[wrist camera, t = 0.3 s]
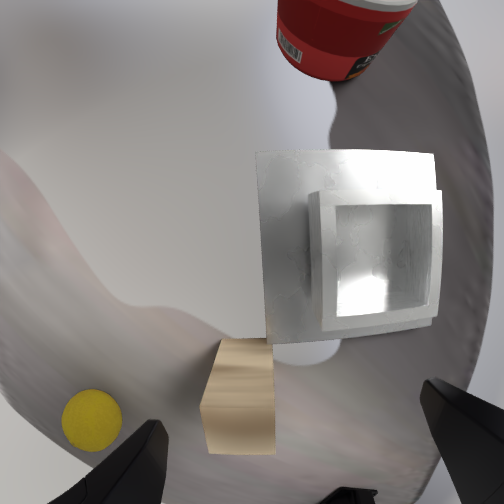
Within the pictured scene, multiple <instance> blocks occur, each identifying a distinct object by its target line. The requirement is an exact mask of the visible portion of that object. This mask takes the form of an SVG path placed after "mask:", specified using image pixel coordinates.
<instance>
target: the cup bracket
mask: <svg viewBox="0 0 504 504" xmlns="http://www.w3.org/2000/svg"><path fill="white" fill-rule="evenodd" d="M256 167H257V183H258V197H259V213H260V230H261V246H262V263H263V281H264V298H265V317H266V335H267V345H268V344H285V343H300V342H313V341H324V340H334V339H343V338H352V337H360V336H368V335H375V334H382V333H389V332H395V331H402V330H408V329H414V328H419V327H425V326H430V325H431V322H432V317H434V316H437V313H438V304H439V295H440V284H441V270H442V246H443V216H442V192H441V191H437V190H436V178H435V167H434V158H433V154H425V153H413V152H398V151H379V150H336V149H328V150H285V151H265V152H256Z"/></svg>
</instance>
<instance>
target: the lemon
mask: <svg viewBox="0 0 504 504" xmlns="http://www.w3.org/2000/svg"><path fill="white" fill-rule="evenodd" d="M121 426H122V413H121V410H120V407H119V406H118V404H117V402H116V401H115V400H114V399H113V398H112V397H111V396H110V395H108V394H107V393H105V392H103V391H100V390H96V389H88V390H84V391H81V392H79V393H77V394H76V395H75V396H74V397H72V398H71V399H70V400H69V402H68V403H67V405H66V407H65V409H64V411H63V414H62V428H63V431H64V434H65V435H66V437H67V439H68V440H69V441H70V443H71V444H72V445H73V446H74V447H77V448H79V449H81V450H84V451H89V452H96V451H100V450H103V449H105V448H106V447H107V446H109V445H110V444H111V443H112V442H113V441H114V440H115V439H116V438H117V436H118V434H119V432H120V429H121Z"/></svg>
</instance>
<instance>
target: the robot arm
mask: <svg viewBox="0 0 504 504" xmlns="http://www.w3.org/2000/svg"><path fill="white" fill-rule="evenodd" d="M420 403H421V406H422V409H423V411H424V414H425V417H426V420H427V423H428V426H429V429H430V432H431V434H432V437H433V439H434V441H435V443H436V445H437V448H438V450H439V452H440V454H441V456H442V458H443V461H444V463H445V465H446V467H447V470H448V472H449V474H450V476H451V479H452V481H453V484H454V486H455V488H456V491H457V493H458V496H459V498H460V501H461V503H462V504H504V410H503V409H501V408H499V407H497V406H495V405H493V404H491V403H488V402H486V401H484V400H482V399H480V398H478V397H476V396H473V395H472V394H469V393H467V392H465V391H463V390H461V389H459V388H457V387H455V386H453V385H451V384H449V383H447V382H445V381H443V380H441V379H439V378H436V377H432V378H429V379H427V380H425V381H424V383H423V387H422V390H421V394H420ZM168 442H169V437H168V434H167V432H166V430H165V428H164V426H163V424H162V422H161V421H160V420H156V419H149V420H147V421H146V422H145V423H144V424H143V425H142V426H140V427H139V428H138V429H137V430H136V431H135V432H134V433H133V434H132V435H131V436H130V437H129V438H128V439H126V440H125V441H124V442H123V443H122V444H121V445H120V446H119V447H118V448H117V449H115V450H114V451H113V452H112V453H111V454H110V455H109V456H108V457H107V458H105V459H104V460H103V461H102V462H101V463H100V464H99V465H97V466H96V467H95V468H94V469H93V470H92V471H91V472H89V473H88V474H87V475H86V476H85V478H82V479H81V480H80V481H79V482H78V483H76V484H75V485H74V486H73V487H71V488H70V489H69V490H67V491H66V492H65V493H63V494H62V495H60V496H59V497H57V498H56V499H54V500H52V501H51V502H49V503H47V504H161V499H162V494H163V489H164V484H165V478H166V470H167V455H168ZM377 494H378V491H377V490H368V489H357V488H348V487H342V488H339V489H338V490H337V491H336V492H334V493H333V494H332V495H331V496H329V497H328V498H327V499H326V500H324V501H323V502H322V503H320V504H375V501H374V498H373V497H374V496H375V495H377Z"/></svg>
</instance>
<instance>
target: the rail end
mask: <svg viewBox="0 0 504 504" xmlns="http://www.w3.org/2000/svg"><path fill="white" fill-rule="evenodd" d="M272 351H273V350H272V344H268V345H267V338H248V339H222V340H221V343H220V346H219V349H218V352H217V355H216V358H215V361H214V364H213V367H212V370H211V373H210V376H209V379H208V382H207V385H206V388H205V391H204V394H203V397H202V400H201V403H200V406H199V408H200V413H201V418H202V423H203V428H204V433H205V437H206V442H207V446H208V451H209V454H228V455H275V399H274V373H273V352H272Z"/></svg>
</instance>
